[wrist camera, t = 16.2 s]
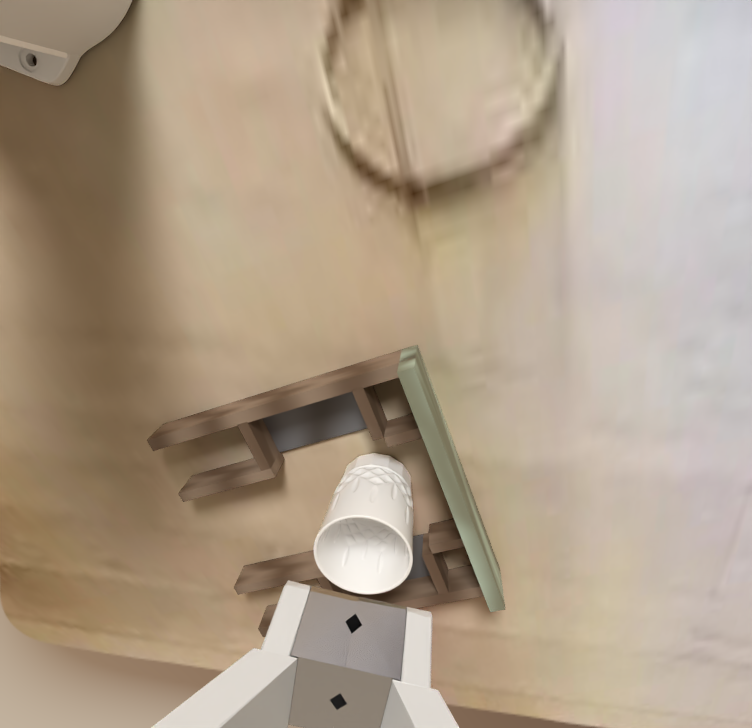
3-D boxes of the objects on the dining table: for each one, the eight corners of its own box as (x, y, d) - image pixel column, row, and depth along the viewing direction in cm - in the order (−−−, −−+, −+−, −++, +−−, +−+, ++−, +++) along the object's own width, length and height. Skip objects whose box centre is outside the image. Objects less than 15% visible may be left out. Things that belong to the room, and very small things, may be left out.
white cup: (322, 487, 51) (295, 561, 42) (365, 431, 48) (346, 498, 39) (388, 528, 52) (376, 609, 43) (434, 476, 49) (432, 551, 40)
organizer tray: (271, 614, 59) (256, 653, 54) (162, 424, 51) (135, 451, 46) (499, 569, 53) (505, 609, 48) (417, 344, 45) (414, 367, 40)
